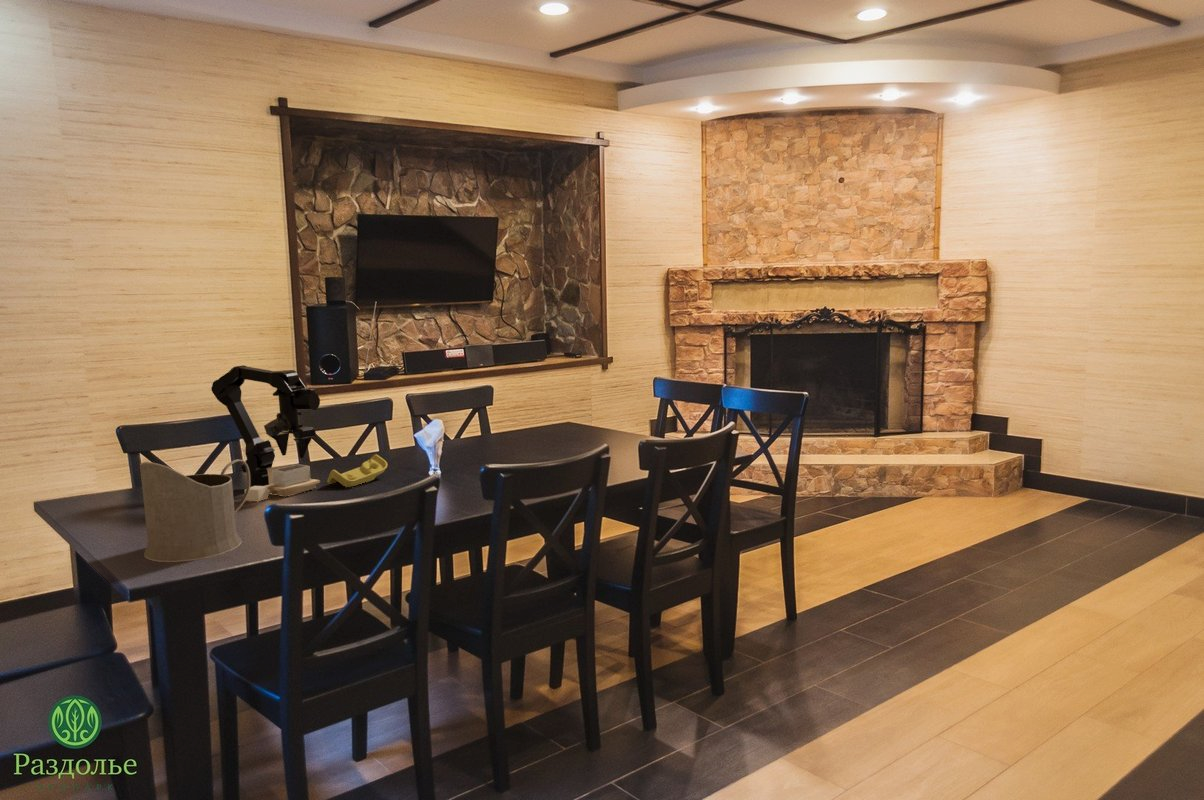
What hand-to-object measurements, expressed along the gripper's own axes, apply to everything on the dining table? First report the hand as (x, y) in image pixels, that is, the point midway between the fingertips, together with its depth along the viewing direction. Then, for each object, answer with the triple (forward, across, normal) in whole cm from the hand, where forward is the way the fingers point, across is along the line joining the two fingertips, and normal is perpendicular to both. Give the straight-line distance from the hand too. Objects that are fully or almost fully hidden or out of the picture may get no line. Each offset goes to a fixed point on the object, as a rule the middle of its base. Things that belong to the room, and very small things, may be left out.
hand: (292, 456), depth 294 cm
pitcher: (+12, +29, -49) cm, 58 cm away
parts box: (+12, -1, -14) cm, 18 cm away
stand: (+11, +1, -2) cm, 12 cm away
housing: (+8, +1, -2) cm, 9 cm away
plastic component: (+12, +9, +20) cm, 25 cm away
